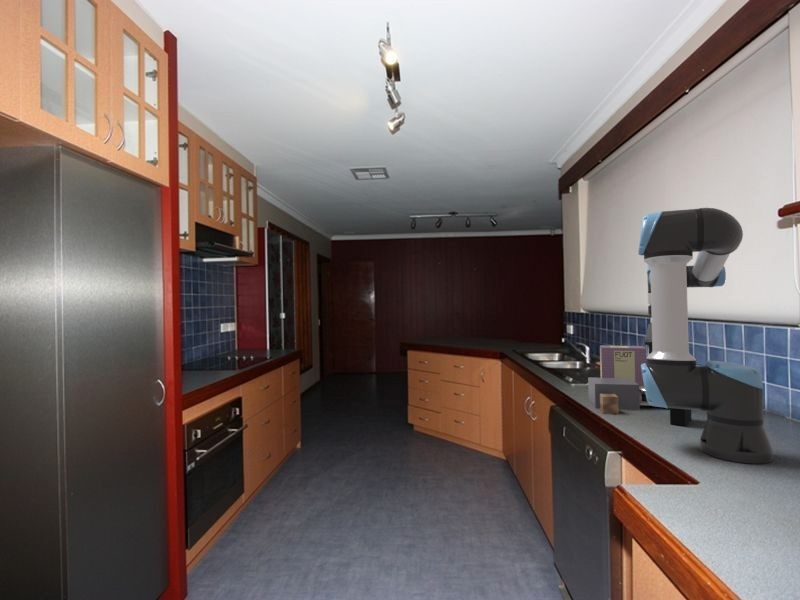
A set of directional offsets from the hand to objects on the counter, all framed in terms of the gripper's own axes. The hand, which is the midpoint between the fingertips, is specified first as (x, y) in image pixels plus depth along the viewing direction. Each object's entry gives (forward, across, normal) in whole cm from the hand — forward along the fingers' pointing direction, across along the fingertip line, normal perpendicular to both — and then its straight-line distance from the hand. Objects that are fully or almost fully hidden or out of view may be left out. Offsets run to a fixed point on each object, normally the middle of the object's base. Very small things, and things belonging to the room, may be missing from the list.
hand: (660, 361), depth 165 cm
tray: (+16, -3, +4) cm, 17 cm away
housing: (+17, -11, +13) cm, 24 cm away
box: (+17, +11, +20) cm, 28 cm away
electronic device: (+17, -19, -13) cm, 29 cm away
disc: (+12, -3, +3) cm, 12 cm away
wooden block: (+17, -23, +8) cm, 29 cm away
